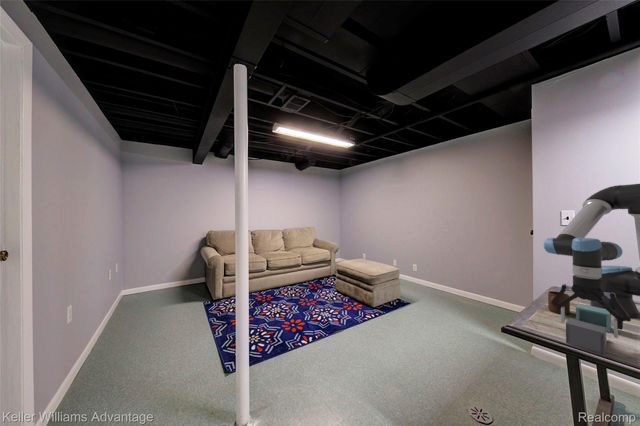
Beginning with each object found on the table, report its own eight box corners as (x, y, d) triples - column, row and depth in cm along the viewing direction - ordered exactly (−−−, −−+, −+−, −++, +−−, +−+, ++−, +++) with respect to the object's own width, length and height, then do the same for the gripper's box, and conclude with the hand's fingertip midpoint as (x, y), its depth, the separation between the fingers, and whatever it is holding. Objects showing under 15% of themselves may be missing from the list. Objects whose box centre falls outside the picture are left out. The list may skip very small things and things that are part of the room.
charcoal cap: (569, 336, 91) (568, 318, 91) (606, 348, 83) (606, 327, 83) (566, 342, 87) (565, 322, 87) (605, 355, 79) (604, 333, 79)
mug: (563, 318, 107) (563, 299, 107) (542, 312, 113) (541, 294, 113) (572, 313, 112) (571, 294, 112) (551, 307, 119) (551, 290, 119)
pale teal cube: (578, 319, 105) (578, 303, 105) (611, 327, 98) (610, 310, 98) (576, 323, 101) (575, 307, 101) (609, 332, 94) (609, 314, 94)
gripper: (541, 271, 97) (542, 319, 97) (641, 286, 77) (642, 347, 77) (545, 269, 101) (546, 315, 101) (641, 282, 81) (642, 340, 81)
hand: (587, 329), depth 89 cm, fingers open, 13 cm apart
